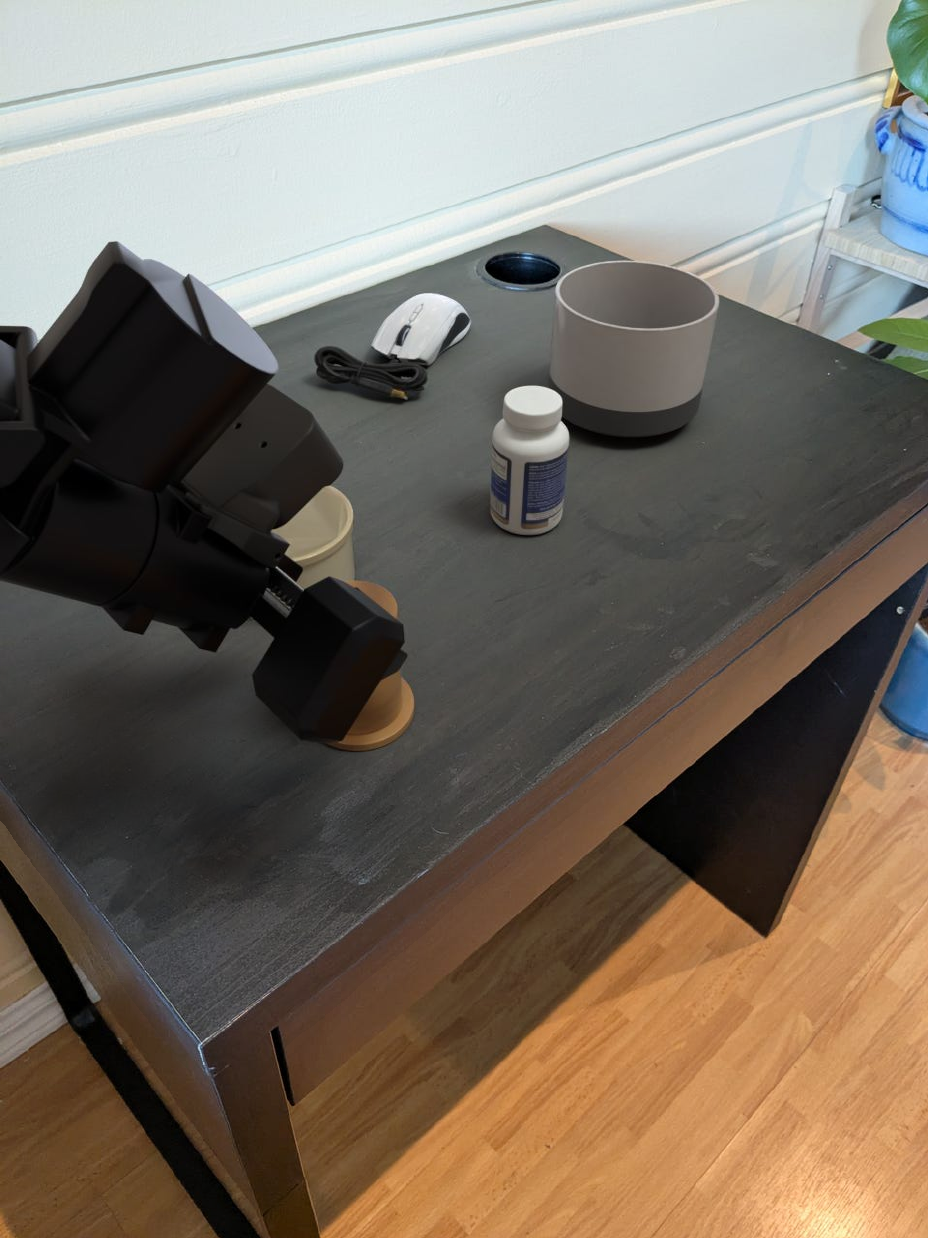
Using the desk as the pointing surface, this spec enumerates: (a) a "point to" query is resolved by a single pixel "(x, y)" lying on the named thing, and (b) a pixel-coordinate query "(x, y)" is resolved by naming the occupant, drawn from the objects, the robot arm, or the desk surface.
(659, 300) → the planter
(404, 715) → the flanged wooden cylinder
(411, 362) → the computer mouse
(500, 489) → the pill bottle
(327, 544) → the cream ceramic pot
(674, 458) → the desk surface
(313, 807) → the desk surface
